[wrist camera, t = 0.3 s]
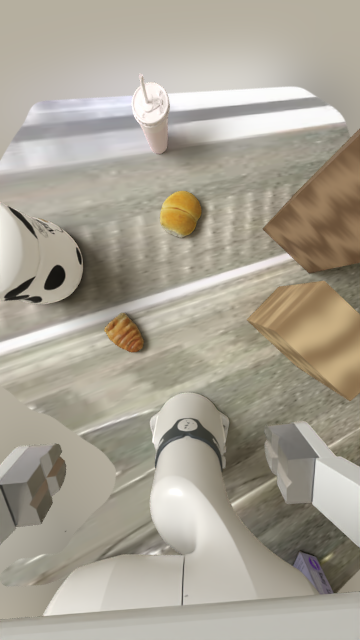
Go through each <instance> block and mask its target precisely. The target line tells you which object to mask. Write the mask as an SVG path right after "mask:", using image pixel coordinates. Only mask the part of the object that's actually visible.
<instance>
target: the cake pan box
mask: <svg viewBox="0 0 360 640" xmlns="http://www.w3.org/2000/svg"><path fill="white" fill-rule="evenodd" d="M293 567H295V568H297V569H298V570H300V571H301V572H302V573H303V574H304V575H305V576H306V578H307V579H308V580H309V581H310V582H311V583H312V584H313V586H314V587H315V588H316V589H317V591H318V592H319V593H320V594H333V591H332V588H331V586H330V584H329V582H328V580H327V578H326V576H325V574H324V572H323V570H322V568H321V566H320V564H319V562H318V560H317V558H316V557H315V556H312V555H309V554H306V553H304V552H301V551H299V553H298V556H297V558H296V560H295V563H294V565H293Z"/></svg>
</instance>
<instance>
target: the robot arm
mask: <svg viewBox="0 0 360 640" xmlns="http://www.w3.org/2000/svg"><path fill="white" fill-rule="evenodd" d="M223 425H225V426H224V427H223ZM150 426H151V430H152V434H153V443H154V445H155V449H156V456H155V469H156V471H155V476H154V481H153V486H152V491H151V496H150V512H151V517H152V520H153V523H154V525H155V527H156V528H157V530H158V532H159V534H160V535H161V537H162V538H163V540H164V541H165V542H166V543H167V544H168V545H169V546H170V547H171V548H173V549H174V550H175V551H177V552H178V553H179V554H181V555H119V556H116V557H112V558H108V559H104V560H100V561H97V562H93V563H90V564H87V565H84V566H80V567H78V568H76V569H75V570H74V571H73V572H72V573H71V574H70V575H69V576H68V578H67V579H66V580H65V581H64V582H63V584H62V585H61V586H60V588H59V589H58V591H57V592H56V593H55V595H54V597H53V598H52V600H51V602H50V603H49V605H48V607H47V609H46V610H45V612H44V614H43V616H38V617H25V618H12V619H0V640H360V591H359V592H348V593H347V592H346V593H333V594H320V593H319V592H318V591H317V589H316V588H315V587H314V586H313V584H312V583H311V582H310V581H309V580H308V579H307V578H306V576H305V575H304V574H303V573H302V572H301V571H300V570H298V569H297V568H295V567H293V566H292V565H290V564H289V563H287V562H285V561H284V560H282V559H281V558H280V557H278V556H277V555H275V554H274V553H273V552H272V551H270V550H269V549H268V548H267V547H266V546H264V545H263V544H262V543H261V542H260V541H259V540H258V539H257V538H256V537H255V536H254V535H253V534H252V533H251V532H250V530H249V529H248V528H247V527H246V526H245V525H244V523H243V522H242V521H241V520H240V518H239V517H238V515H237V514H236V512H235V511H234V509H233V508H232V506H231V504H230V501H229V499H228V496H227V492H226V489H225V485H224V481H223V476H222V468H225V466H226V458H225V456H223V454H224V453H226V446H225V443H226V438H227V433H228V427H229V418H228V417H227V416H226V415H224V414H223V413H221V412H219V411H218V410H217V409H216V407H215V406H214V404H213V403H212V402H211V401H210V400H209V399H207V398H206V397H204V396H202V395H200V394H196V393H181V394H178V395H175V396H173V397H172V398H170V399H169V400H168V401H167V402H166V403H165V404H164V406H163V407H162V409H161V410H160V412H159V413H157V414H155V415H154V416H153V417H152V418H151V419H150ZM265 435H266V437H267V439H268V440H267V441H266V442H265V454H266V459H267V462H268V465H269V467H270V469H271V472H272V473H274V474H275V475H276V476H277V485H278V487H279V489H280V491H281V493H282V495H283V498H284V500H285V502H286V504H293V503H312V504H313V505H314V506H315V507H316V508H317V509H318V510H319V511H320V512H321V513H323V514H324V515H325V516H326V517H327V518H328V519H329V520H330V521H331V522H332V523H333V524H334V525H336V526H337V527H338V528H339V529H340V530H341V531H342V532H343V533H344V534H345V535H346V536H347V537H349V538H350V539H351V540H352V541H353V542H354V543H355V544H356V545H357V546H358V547H359V548H360V467H359V466H357V465H355V464H354V463H352V462H350V461H348V460H346V459H345V458H343V457H341V456H339V457H336V455H335V454H334V453H333V452H332V451H331V450H330V448H329V447H328V446H327V445H326V444H325V443H324V441H323V440H322V439H321V438H320V437H319V436H318V434H317V433H316V432H315V431H314V430H313V429H312V427H311V426H310V425H309V424H308V423H307V422H305V421H300V422H292V423H282V424H272V425H266V426H265ZM61 453H62V450H61V447H60V445H59V444H43V445H31V446H19V447H17V448H15V449H14V450H13V451H12V452H11V453H10V455H9V456H8V457H7V458H6V459H5V460H4V461H3V462H2V463H1V464H0V544H1V543H2V542H3V541H4V540H5V539H6V538H7V537H8V536H9V535H10V534H11V533H12V532H13V531H14V530H15V529H16V527H21V526H30V525H39V524H41V523H42V522H43V519H44V518H45V516H46V514H47V512H48V511H49V509H50V507H51V505H52V503H53V502H52V496H53V495H54V494H55V493H56V492H58V491H59V490H60V488H61V486H62V484H63V482H64V479H65V475H66V464H65V461H64V460H63V459H62V458H61V457H60V454H61Z"/></svg>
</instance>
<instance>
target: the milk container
mask: <svg viewBox="0 0 360 640" xmlns="http://www.w3.org/2000/svg"><path fill="white" fill-rule="evenodd" d="M82 274H83V259H82V255H81V252H80V249H79V247H78V245H77V244H76V242H75V241H74V240H73V238H72V237H71V236H70V235H69V234H68V233H66V232H65V231H64V230H63V229H61V228H60V227H59V226H57V225H55V224H53V223H51V222H49V221H46V220H44V219H40V218H35V217H29V216H27V215H26V214H24V213H22V212H20V211H18V210H16V209H14V208H12V207H9V206H7V205H5V204H4V203H2V202H0V301H7V300H19V301H22V302H26V303H30V304H49V303H54V302H57V301H60V300H62V299H64V298H66V297H68V296H69V295H70V294H72V293H73V292H74V290H75V289H76V288H77V286H78V285H79V283H80V280H81V277H82Z"/></svg>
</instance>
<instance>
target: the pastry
mask: <svg viewBox="0 0 360 640" xmlns="http://www.w3.org/2000/svg"><path fill="white" fill-rule="evenodd" d="M104 331H105V332H106V334H107V336H108V337H109V339H110V340H111V341H112V342H114V343H115V344H116V345H117V346H119V347H121V348H122V349H125V350H127V351H129V352H138V351H139V350H141V349H142V348H143V343H144V340H143V338H142V336H141V333H140V331H139V330H138V327H137V326H136V324H134V323H133V322H132V321H131V319H130V318H129V317H128V316H127V315H126V314H125V313H120V314H119V315H118V316H117V317H116V318H114V319H113V320H112V321H111V322H110V323H108V325H107V326H106V327H105V330H104Z"/></svg>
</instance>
